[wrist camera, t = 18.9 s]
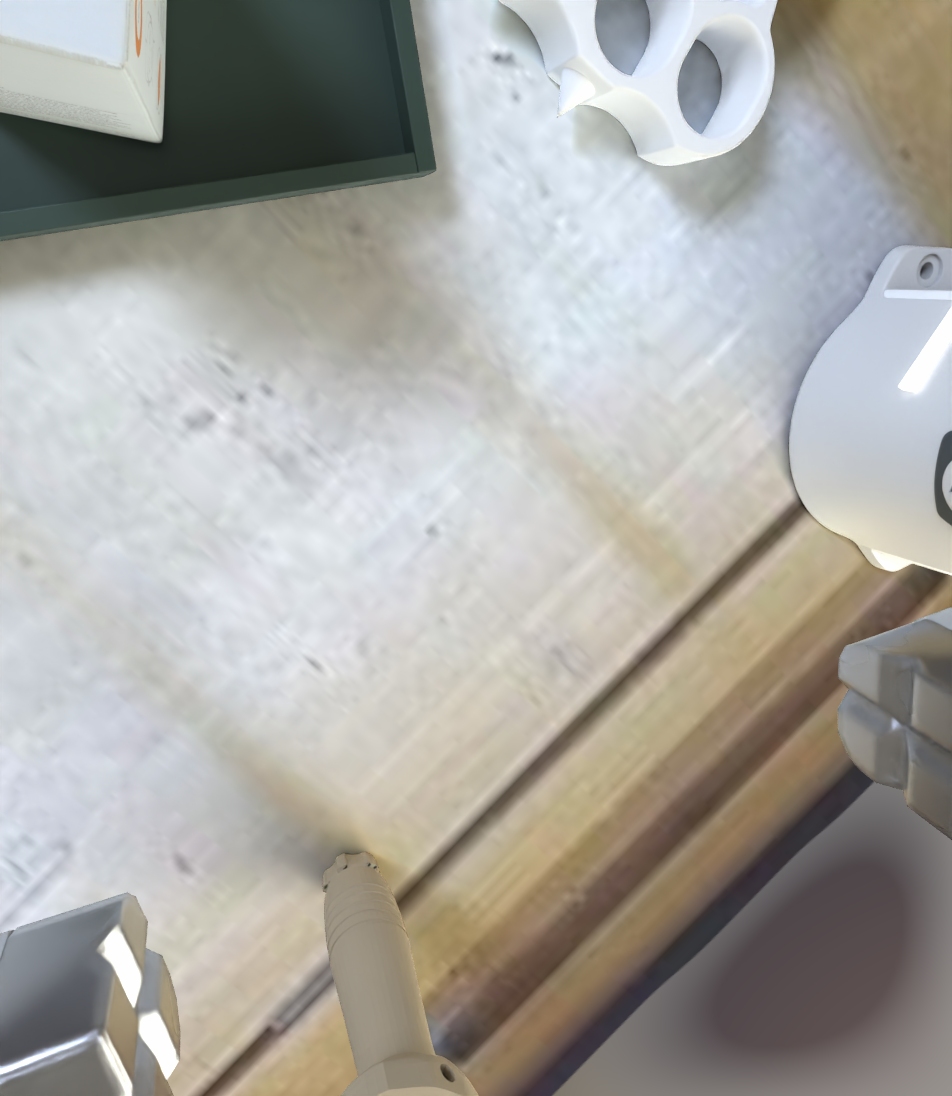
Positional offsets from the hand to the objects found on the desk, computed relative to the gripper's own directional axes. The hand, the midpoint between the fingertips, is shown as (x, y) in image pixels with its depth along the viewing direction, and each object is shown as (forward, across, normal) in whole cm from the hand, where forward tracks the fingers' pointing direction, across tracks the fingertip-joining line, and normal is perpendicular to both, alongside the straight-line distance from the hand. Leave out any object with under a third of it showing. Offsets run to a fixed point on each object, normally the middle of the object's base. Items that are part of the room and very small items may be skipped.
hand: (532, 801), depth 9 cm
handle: (+29, +3, +26) cm, 39 cm away
